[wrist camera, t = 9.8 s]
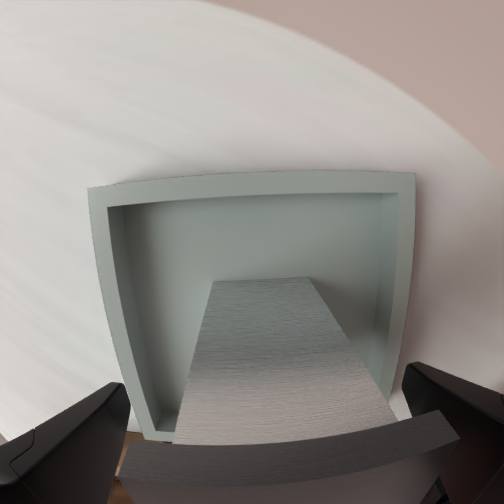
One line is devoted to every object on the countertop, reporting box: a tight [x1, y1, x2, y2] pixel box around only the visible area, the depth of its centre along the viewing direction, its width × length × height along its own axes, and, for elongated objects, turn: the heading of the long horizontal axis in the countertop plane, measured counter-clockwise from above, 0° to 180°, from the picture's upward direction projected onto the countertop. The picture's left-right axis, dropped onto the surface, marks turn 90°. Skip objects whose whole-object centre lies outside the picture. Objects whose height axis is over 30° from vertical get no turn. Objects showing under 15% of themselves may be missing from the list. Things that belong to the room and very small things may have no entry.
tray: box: [87, 170, 416, 442], centre depth 13 cm, size 13×13×2 cm
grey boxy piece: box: [117, 276, 460, 504], centre depth 8 cm, size 5×5×10 cm
